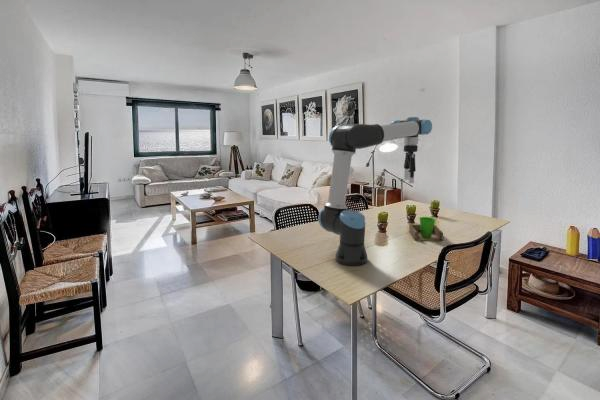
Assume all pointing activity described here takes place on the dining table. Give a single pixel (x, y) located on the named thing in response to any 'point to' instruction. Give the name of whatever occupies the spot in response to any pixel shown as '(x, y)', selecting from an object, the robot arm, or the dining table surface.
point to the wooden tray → (416, 234)
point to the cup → (426, 226)
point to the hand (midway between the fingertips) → (408, 181)
